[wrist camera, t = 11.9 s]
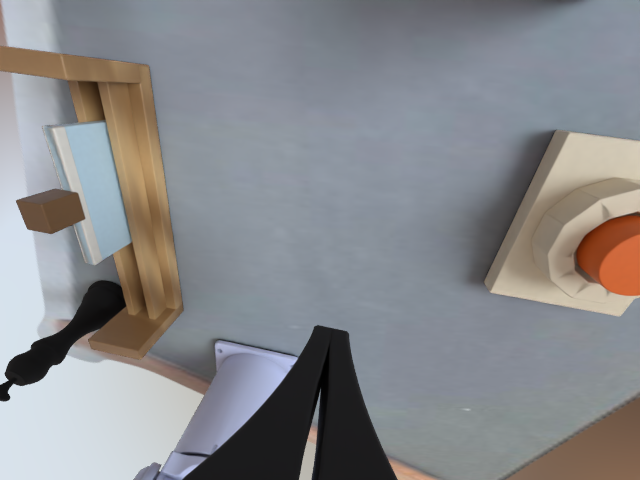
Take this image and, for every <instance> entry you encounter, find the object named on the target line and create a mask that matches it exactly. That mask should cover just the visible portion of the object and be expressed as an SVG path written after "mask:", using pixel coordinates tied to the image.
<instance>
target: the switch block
mask: <svg viewBox="0 0 640 480" xmlns="http://www.w3.org/2000/svg"><path fill="white" fill-rule="evenodd" d="M624 216H640V141H638V140H630V139H623V138H616V137H608V136H601V135H593V134H586V133H578V132H571V131H564V130H556V131H555V133H554V135H553V137H552V139H551V141H550V144H549V146H548V148H547V150H546V152H545V154H544V156H543V158H542V160H541V163H540V165H539V167H538V169H537V171H536V173H535V175H534V177H533V179H532V182H531V184H530V186H529V188H528V190H527V192H526V194H525V196H524V198H523V200H522V203H521V205H520V207H519V209H518V211H517V213H516V215H515V217H514V219H513V222H512V224H511V226H510V228H509V230H508V232H507V234H506V236H505V238H504V241H503V243H502V245H501V247H500V249H499V251H498V253H497V255H496V257H495V260H494V262H493V264H492V266H491V268H490V270H489V272H488V274H487V276H486V279H485V281H484V283H485V285H486V287H487V288H488V290H489V292H490V293H495V294H501V295H506V296H512V297H517V298H522V299H528V300H533V301H539V302H544V303H550V304H555V305H560V306H566V307H571V308H577V309H582V310H587V311H593V312H598V313H604V314H609V315H614V316H621V315H622V314H623V312H624V311H625V310H626V309H627V307H628V306H629V305H630V304H631V302H632V301H633V300H634V299H635V298H639V297H640V296H624V295H619V294H615V293H612V292H610V291H608V290H607V289H605V288H604V287H603V286H601V285H600V284H599V283H598V282H597V281H595V280H594V279H593V278H592V277H591V276H589V275H588V274H587V273H586V272H585V271H583V270H582V269H581V268H580V266H579V264H578V262H577V257H576V253H577V249H578V246H579V244H580V242H581V241H582V239H583V238H584V237H585V236H586V235H587V234H588V233H589V232H590V231H592V230H593V229H595V228H596V227H598V226H599V225H600V224H602V223H604V222H606V221H608V220H611V219H614V218H618V217H624Z"/></svg>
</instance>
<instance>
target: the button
mask: <svg viewBox="0 0 640 480" xmlns="http://www.w3.org/2000/svg"><path fill="white" fill-rule="evenodd" d="M576 257H577V262H578V264H579V266H580V268H581V269H582V270H583V271H585V272H586V273H587V274H588V275H589V276H591V277H592V278H593V279H594V280H595V281H597V282H598V283H599V284H600V285H601V286H603V287H604V288H605V289H607V290H608V291H610V292H612V293H615V294H619V295H624V296H640V216H624V217H618V218H614V219H611V220H608V221H606V222H604V223H602V224H600V225H599V226H598V227H596V228H595V229H593V230H592V231H590V232H589V233H588V234H587V235H586V236H585V237H584V238H583V239H582V241H581V242H580V244H579V246H578V249H577V253H576Z"/></svg>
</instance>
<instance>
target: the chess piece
mask: <svg viewBox="0 0 640 480" xmlns="http://www.w3.org/2000/svg"><path fill="white" fill-rule="evenodd" d="M125 307H126V302H125V298H124V295H123V291H122V287H120V286H119V285H117V284H115V283H112V282H109V281H98V282H95V283H94V284H92V285H91V286H90V287H89V289H88V292H87V293H86V294H85V296H84V297H83V300H82V303H81V305H80V307H79V308H78V310H77V312H76V314H75V316H74V318H73V319H72V321H71V322H70V323H69V324H68V325H67V326H66V327H65V328H64V329H62V330H61V331H60V332H58V333H56V334H54V335H52V336H49V337H46V338H43V339H40V340H38V341H36V342H34V343H33V344H32V345H31V349H30V350H29V351H27V352H25V353H23V354H19V355H17V356H15V357H14V358H13V359H12V360H11V361H10V362H9V364H8V366H7V369H6V372H5V376H6V378H7V379H8V380H9V381H7V382H5V383H3V384H1V385H0V401H8V400H9V399H10V396H9V394H8V390H9V388H10V387H11V386H12V385H13V384H16V385H19V386H24V385H27V384H32V383H35V382H38V381H39V380H41V379H42V378H44V376H45V375H46V374H47V372H48V370H49V368H50V367H51V366H52V365H58V364H60V363H61V362H62V361H63V360H64V358H65V357H66V355H67V353H68V351H69V349H70V347H71V346H72V345H73V344H74V343H75V342H76V341H77V340H78V339H79V338H81V337H82V336H84V335H86V334H88V333H90V332H92V331H95V330H98V329H101V328H102V327H103V326H104V325H105V324H106V323H108V322H109V321H110V320H111V319H112V318H113V317H115V316H116V315H117V314H118V313H119V312H120V311H121V310H123V309H124V308H125Z"/></svg>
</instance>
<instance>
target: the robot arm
mask: <svg viewBox="0 0 640 480" xmlns="http://www.w3.org/2000/svg"><path fill="white" fill-rule="evenodd" d="M215 357H216V370H217V374H216V375H215V377H214V379H213V381H212V383H211V384H210V386H209V388H208V390H207V392H206V393H205V395H204V397H203V399H202V401H201V403H200V404H199V406H198V408H197V410H196V412H195V413H194V415H193V417H192V419H191V421H190V422H189V424H188V426H187V428H186V430H185V431H184V434H183V435H182V437H181V439H180V440H179V442H178V444H177V446H176V448H175V449H174V451H172V452H171V454H170V456H169V457H168V459H167V461H166V463H165V465H164V466H163V468H162V470H161V472H159V469H160V467H161V465H160V464H158V463H152V464H151V465H150V466H148V467H146V468H144V469H142V470H140V471H139V473H138V474H137V475H136V477H135V478H134V480H299V475H300V471H301V465H302V460H303V455H304V450H305V446H306V442H307V439H308V435H309V431H310V427H311V423H312V420H313V416H314V412H315V408H316V405H317V401H318V397H319V393H320V389H321V394H320V406H319V418H318V431H317V443H316V453H315V461H314V467H313V474H312V480H397V477H396V475H395V473H394V471H393V469H392V467H391V465H390V463H389V461H388V459H387V457H386V455H385V453H384V451H383V448H382V446H381V444H380V441H379V439H378V437H377V434H376V432H375V430H374V427H373V425H372V422H371V419H370V417H369V414H368V411H367V409H366V406H365V403H364V400H363V397H362V394H361V390H360V387H359V384H358V380H357V376H356V372H355V369H354V364H353V360H352V355H351V349H350V342H349V333H348V332H347V331H343V330H338V329H333V328H328V327H324V326H319V325H317V326H315V327H314V330H313V332H312V335H311V337H310V339H309V341H308V343H307V344H306V346H305V348H304V350H303V351H302V353H301V354H300V356H299V358H297V357H296V356H291V355H287V354H282V353H277V352H273V351H268V350H264V349H259V348H254V347H250V346H245V345H240V344H236V343H231V342H226V341H222V340H218V341H217V342H216V343H215Z"/></svg>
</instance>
